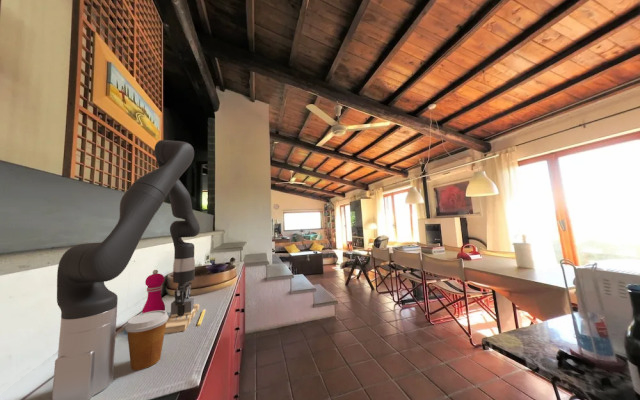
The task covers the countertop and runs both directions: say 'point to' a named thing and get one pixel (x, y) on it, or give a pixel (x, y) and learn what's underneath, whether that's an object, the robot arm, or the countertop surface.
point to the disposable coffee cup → (146, 338)
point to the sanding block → (188, 307)
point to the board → (180, 321)
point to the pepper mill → (154, 293)
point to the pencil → (201, 317)
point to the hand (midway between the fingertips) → (183, 312)
